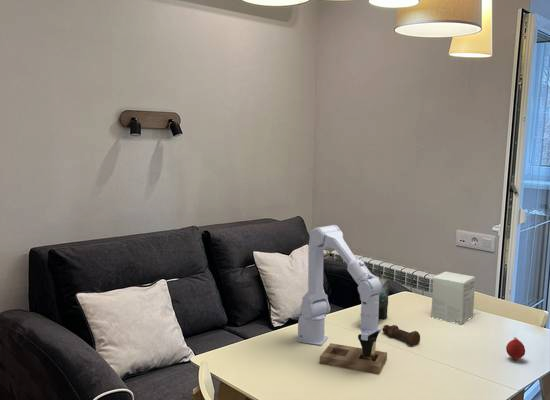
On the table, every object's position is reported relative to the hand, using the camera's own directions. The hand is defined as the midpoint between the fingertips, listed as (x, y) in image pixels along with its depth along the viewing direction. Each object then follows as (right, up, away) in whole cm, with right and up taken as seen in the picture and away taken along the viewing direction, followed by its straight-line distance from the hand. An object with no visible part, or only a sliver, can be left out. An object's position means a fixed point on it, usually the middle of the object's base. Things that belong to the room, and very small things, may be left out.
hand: (368, 353), depth 173 cm
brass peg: (0, -2, 0) cm, 2 cm away
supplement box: (+43, +1, +46) cm, 63 cm away
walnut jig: (-5, -3, +2) cm, 6 cm away
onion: (+50, -4, +4) cm, 51 cm away
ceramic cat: (+10, +1, +38) cm, 40 cm away
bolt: (+16, -2, +22) cm, 27 cm away
